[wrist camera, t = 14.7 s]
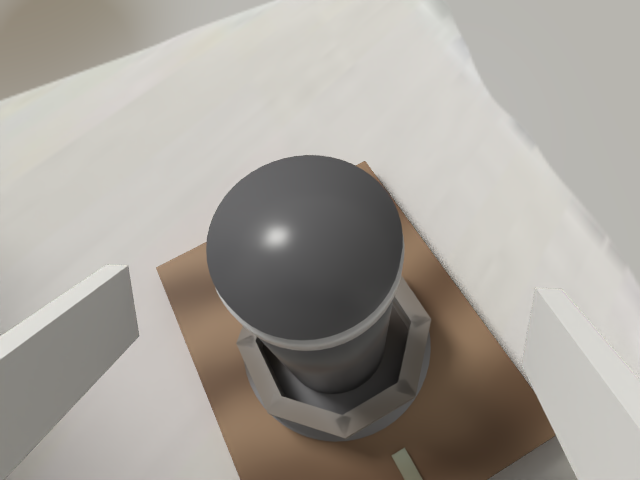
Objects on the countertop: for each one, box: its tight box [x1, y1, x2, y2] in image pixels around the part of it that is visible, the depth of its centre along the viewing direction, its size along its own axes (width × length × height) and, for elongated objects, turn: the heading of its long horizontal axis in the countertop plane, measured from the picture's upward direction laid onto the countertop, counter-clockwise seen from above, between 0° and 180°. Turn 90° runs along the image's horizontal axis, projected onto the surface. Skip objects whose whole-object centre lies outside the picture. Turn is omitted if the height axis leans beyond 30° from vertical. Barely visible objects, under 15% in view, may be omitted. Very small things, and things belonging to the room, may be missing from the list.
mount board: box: [156, 161, 556, 480], centre depth 26 cm, size 20×16×3 cm
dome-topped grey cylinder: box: [206, 155, 404, 394], centre depth 20 cm, size 6×6×14 cm
